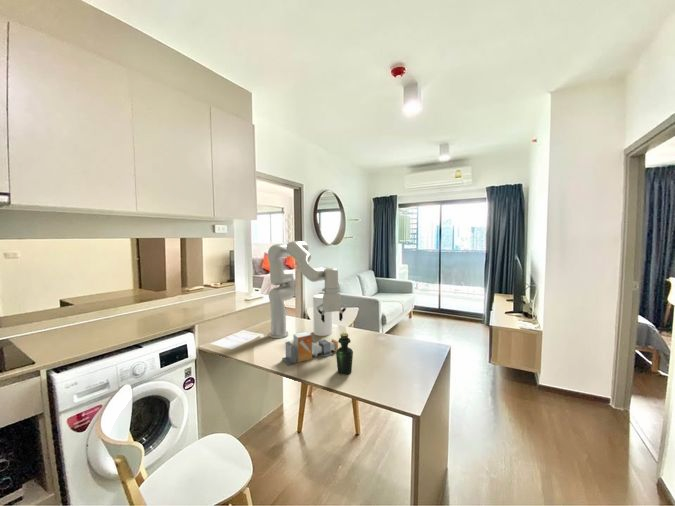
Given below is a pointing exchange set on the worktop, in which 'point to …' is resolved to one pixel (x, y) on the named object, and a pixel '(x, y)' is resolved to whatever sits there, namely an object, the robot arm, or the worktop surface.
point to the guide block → (325, 348)
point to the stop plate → (289, 354)
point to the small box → (303, 346)
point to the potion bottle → (344, 355)
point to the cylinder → (319, 325)
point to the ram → (319, 347)
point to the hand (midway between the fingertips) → (332, 321)
